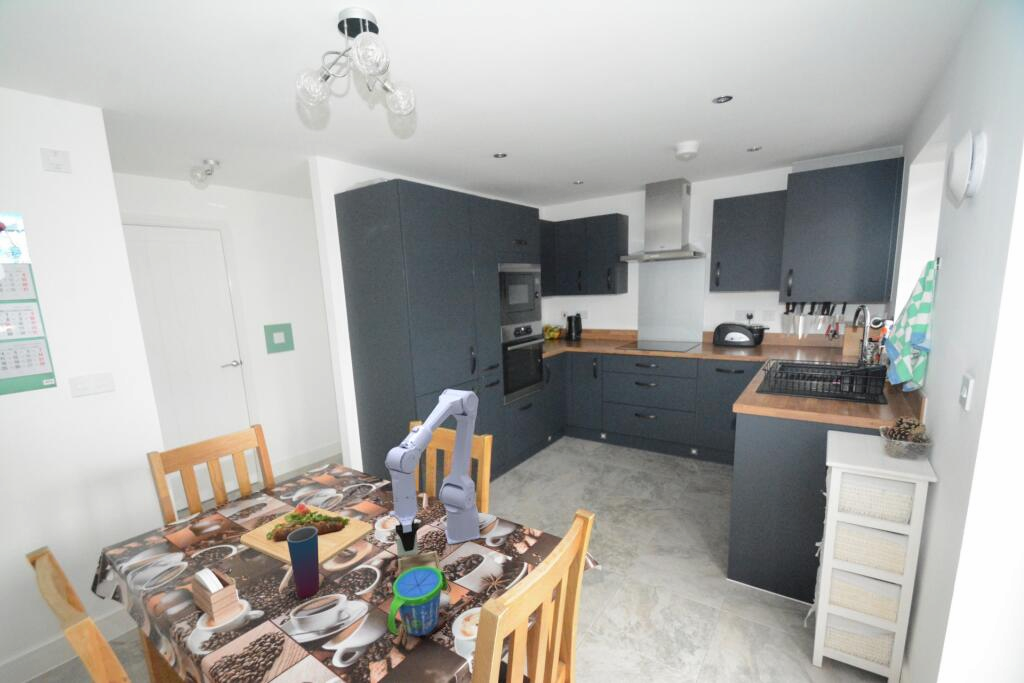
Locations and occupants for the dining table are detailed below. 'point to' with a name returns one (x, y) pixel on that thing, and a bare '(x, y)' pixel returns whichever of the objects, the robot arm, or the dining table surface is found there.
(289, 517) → the cutting board
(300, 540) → the cup
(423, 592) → the snack cup
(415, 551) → the small crate
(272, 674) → the dining table surface
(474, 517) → the robot arm
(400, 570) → the beige wooden tray
